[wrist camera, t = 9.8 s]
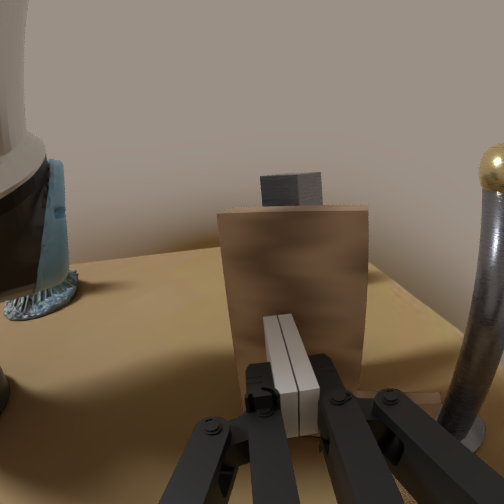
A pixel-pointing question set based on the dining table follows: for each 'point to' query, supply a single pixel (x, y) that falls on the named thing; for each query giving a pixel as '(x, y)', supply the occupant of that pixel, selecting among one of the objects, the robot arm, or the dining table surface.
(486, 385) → the hinge post
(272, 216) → the gate
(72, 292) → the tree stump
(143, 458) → the dining table surface
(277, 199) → the dark grey bar
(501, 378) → the dining table surface
